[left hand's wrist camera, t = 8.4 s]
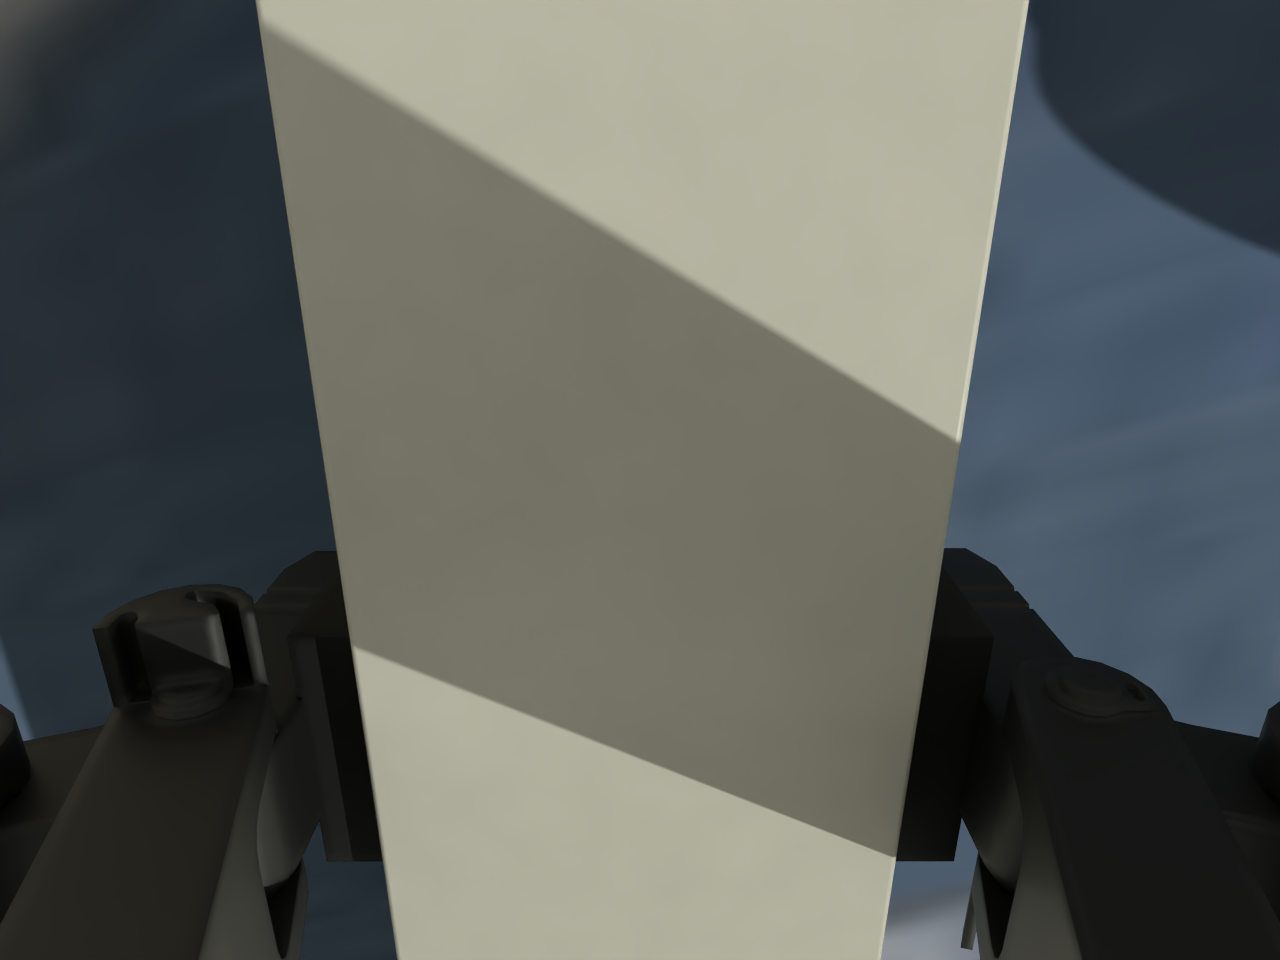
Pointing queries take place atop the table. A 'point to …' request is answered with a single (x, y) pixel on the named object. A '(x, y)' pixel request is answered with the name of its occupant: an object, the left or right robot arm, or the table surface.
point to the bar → (640, 442)
